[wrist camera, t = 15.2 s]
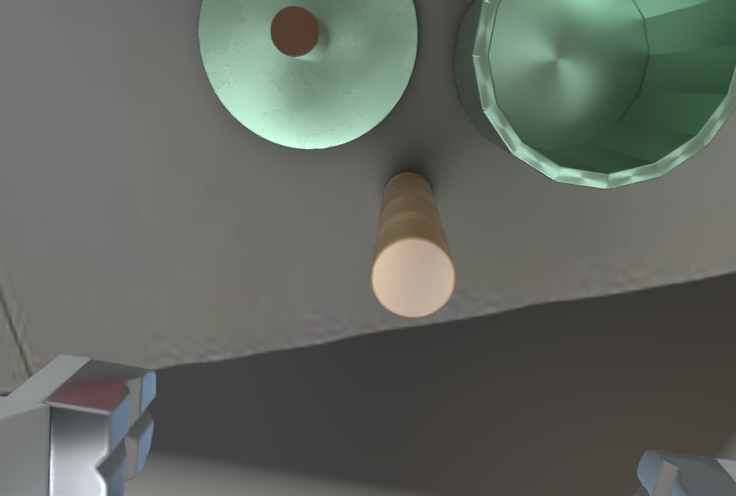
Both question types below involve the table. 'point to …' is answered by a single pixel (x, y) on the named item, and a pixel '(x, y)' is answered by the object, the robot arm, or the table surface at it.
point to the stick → (411, 250)
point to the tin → (598, 83)
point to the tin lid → (308, 65)
